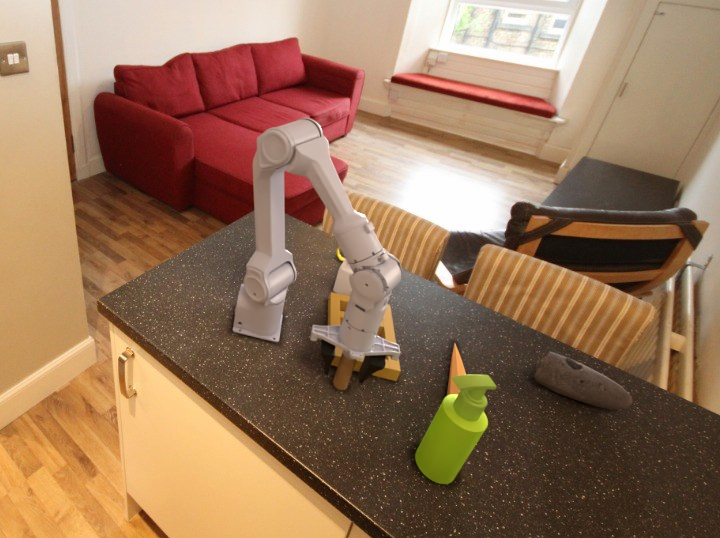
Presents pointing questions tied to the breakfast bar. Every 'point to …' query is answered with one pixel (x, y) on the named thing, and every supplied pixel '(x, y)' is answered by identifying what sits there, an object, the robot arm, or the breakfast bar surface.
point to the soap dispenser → (455, 429)
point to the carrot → (455, 371)
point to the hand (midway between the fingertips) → (343, 374)
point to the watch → (339, 255)
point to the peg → (344, 371)
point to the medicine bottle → (343, 279)
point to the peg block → (385, 332)
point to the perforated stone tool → (580, 383)
